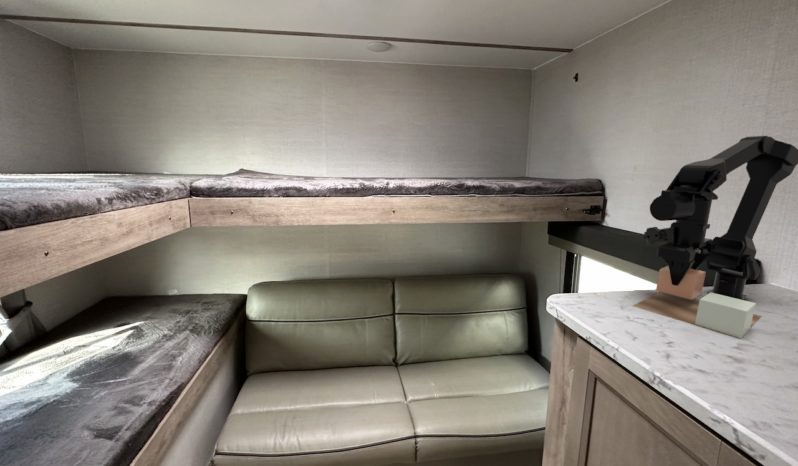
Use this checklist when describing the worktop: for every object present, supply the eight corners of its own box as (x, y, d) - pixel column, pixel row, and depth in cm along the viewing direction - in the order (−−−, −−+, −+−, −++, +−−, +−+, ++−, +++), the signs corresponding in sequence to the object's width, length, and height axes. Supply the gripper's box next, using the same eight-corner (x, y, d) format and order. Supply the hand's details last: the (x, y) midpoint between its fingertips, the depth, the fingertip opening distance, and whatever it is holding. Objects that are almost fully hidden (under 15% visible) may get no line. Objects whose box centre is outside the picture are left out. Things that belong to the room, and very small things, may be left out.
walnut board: (661, 293, 91) (662, 290, 91) (761, 320, 76) (762, 316, 76) (631, 309, 81) (632, 305, 80) (739, 343, 66) (740, 338, 66)
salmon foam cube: (667, 284, 89) (670, 264, 88) (701, 293, 83) (705, 271, 82) (656, 290, 85) (659, 269, 84) (691, 299, 79) (695, 277, 78)
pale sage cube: (705, 316, 75) (710, 292, 74) (750, 328, 70) (755, 303, 69) (694, 324, 72) (699, 299, 70) (740, 338, 66) (747, 311, 65)
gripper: (666, 211, 92) (657, 267, 95) (635, 217, 82) (626, 280, 85) (721, 217, 83) (709, 278, 86) (695, 224, 73) (682, 294, 76)
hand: (680, 282), depth 84 cm, fingers closed on salmon foam cube, 7 cm apart
